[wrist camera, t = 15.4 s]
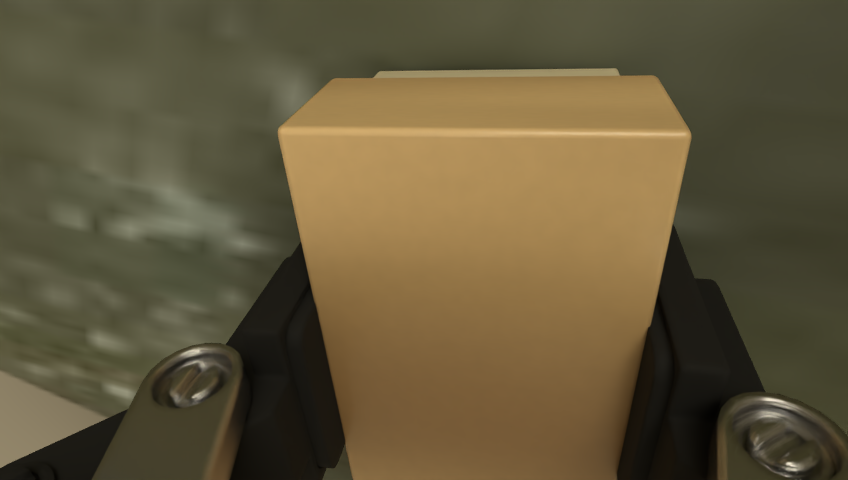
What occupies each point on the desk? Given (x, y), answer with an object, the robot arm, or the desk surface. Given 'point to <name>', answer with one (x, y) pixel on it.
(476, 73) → the tan rectangular brick
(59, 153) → the desk surface
